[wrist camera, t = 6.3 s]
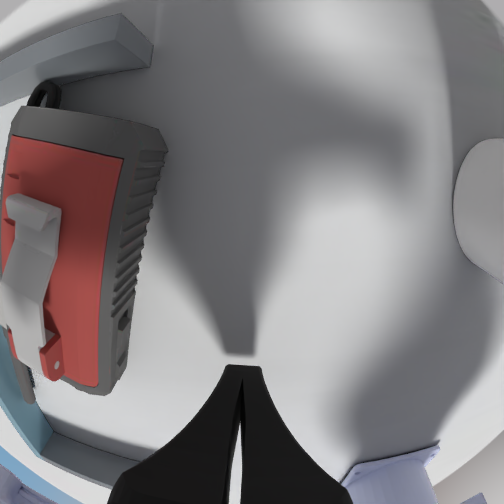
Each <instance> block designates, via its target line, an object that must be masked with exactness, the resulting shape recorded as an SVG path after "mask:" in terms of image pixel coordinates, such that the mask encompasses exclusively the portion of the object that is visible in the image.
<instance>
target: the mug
mask: <svg viewBox="0 0 504 504" xmlns="http://www.w3.org/2000/svg"><path fill="white" fill-rule="evenodd" d="M453 216H454V225H455V231H456V235H457V238H458V241H459V244H460V246H461V249H462V250H463V252H464V254H465V255H466V256H467V258H468V259H469V260H470V261H471V262H473V263H474V264H475V265H477V266H478V267H480V268H481V269H483V270H484V271H485V272H487V273H488V274H490V275H491V276H493V277H494V278H495V279H497V280H498V281H499V282H501V283H502V284H504V138H498V139H487V140H484V141H481V142H479V143H478V144H476V145H475V146H474V147H473V148H472V149H471V150H470V151H469V153H468V154H467V156H466V157H465V159H464V161H463V163H462V165H461V168H460V170H459V173H458V177H457V180H456V185H455V191H454V201H453Z"/></svg>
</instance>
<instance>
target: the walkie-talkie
mask: <svg viewBox="0 0 504 504" xmlns="http://www.w3.org/2000/svg"><path fill="white" fill-rule="evenodd" d="M46 93H48V96H47V103H46V107H45V108H42V107H40V104H41V101H42V99H43V98H44V96H45V94H46ZM60 102H61V89H60V87H59V86H58V85H56V84H54V83H50V82H48V81H44V82H41V83H40V84H39V85H38V86H36V87H35V88H34V90H33V92H32V94H31V96H30V98H29V100H28V102H27V106H21V107H20V109H19V111H18V112H17V114H16V115H15V117H14V119H13V120H12V122H11V128H10V133H9V135H8V143H7V147H6V154H5V160H4V164H3V165H4V167H3V174H2V184H1V189H0V192H1V194H0V325H2V329H3V334H4V336H5V338H6V339H7V343H8V347H9V352H10V356H11V359H12V363H13V367H14V370H15V374H16V377H17V380H18V383H19V386H20V389H21V392H22V395H23V398H24V401H25V402H26V403H27V404H34V403H35V400H36V398H35V394H34V391H33V388H32V384H31V380H30V377H29V373H28V369H27V366H28V367H30V368H32V369H33V370H35V371H36V372H38V373H39V374H41V375H43V376H44V377H46V378H48V379H49V380H51V381H57V380H59V379H61V380H63V381H65V382H67V383H69V384H71V385H72V386H74V387H75V388H76V389H78V390H80V391H84V392H86V393H88V394H93V395H101V396H105V395H107V394H109V393H111V391H112V389H113V388H114V386H115V384H116V382H117V380H120V378H121V376H122V374H123V372H124V371H125V369H126V366H127V357H128V347H129V338H130V329H131V321H132V313H133V306H134V299H135V293H136V292H135V291H134V287H135V285H136V284H137V280H136V275H137V274H138V273H139V268H138V263H139V262H140V261H141V258H142V257H141V256H140V252H141V250H142V249H143V248H144V244H143V243H142V242H143V237H144V236H146V234H147V231H146V230H145V227H146V223H148V222H149V220H150V218H149V217H148V214H149V210H150V209H152V208H153V204H152V203H151V202H152V198H153V195H156V192H157V190H156V189H155V186H156V182H157V181H159V180H160V177H161V176H160V175H159V171H160V168H161V166H164V163H165V162H164V161H163V157H164V154H165V152H168V149H167V147H166V145H165V142H164V140H163V138H162V136H161V134H160V132H159V130H158V129H156V128H152V127H149V126H146V125H142V124H138V123H135V122H131V121H127V120H122V119H118V118H112V117H107V116H101V115H95V114H89V113H82V112H75V111H68V110H60V109H59V106H60Z"/></svg>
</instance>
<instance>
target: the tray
mask: <svg viewBox="0 0 504 504" xmlns="http://www.w3.org/2000/svg"><path fill="white" fill-rule="evenodd" d="M152 50H153V44H152V43H151V42H150V41H149V40H148V39H147V38H146V37H145V36H144V35H143V34H142V33H141V32H140V31H139V30H138V29H137V28H136V27H135V26H134V25H133V24H132V23H131V22H130V21H129V20H128V19H127V18H126V17H125V16H124V15H123V14H121V13H120V14H116V15H112V16H109V17H105V18H101V19H98V20H95V21H91V22H88V23H85V24H82V25H79V26H76V27H73V28H70V29H68V30H65V31H62V32H60V33H57V34H55V35H52V36H50V37H48V38H45V39H43V40H41V41H38V42H36V43H34V44H32V45H30V46H28V47H26V48H24V49H22V50H20V51H18V52H16V53H14V54H12V55H10V56H8V57H7V58H5V59H3V60H1V61H0V106H3V105H5V104H8V103H10V102H12V101H15V100H18V99H20V98H23V97H25V96H28V95H31V94H32V92H33V90H34V88H35V87H36V86H38V85H39V84H40V83H41V82H44V81H48V82H50V83H54V84H56V85H58V86H59V85H62V84H66V83H70V82H73V81H77V80H81V79H85V78H90V77H94V76H99V75H104V74H109V73H114V72H120V71H126V70H132V69H139V68H146V67H150V63H151V57H152ZM0 406H1V408H2V409H3V411H4V412H5V414H6V415H7V417H8V418H9V420H10V421H11V423H12V424H13V426H14V427H15V429H16V430H17V432H18V433H19V434H20V436H21V437H22V438H23V440H24V441H25V442H26V444H27V445H28V446H29V448H30V449H31V450H32V451H33V453H34V454H35V455H36V456H37V457H39V458H40V459H42V460H44V461H46V462H48V463H50V464H52V465H54V466H56V467H58V468H60V469H62V470H64V471H66V472H69V473H71V474H73V475H75V476H78V477H80V478H82V479H85V480H87V481H90V482H92V483H95V484H98V485H100V486H103V487H106V488H109V489H111V490H112V488H113V486H114V485H115V483H116V481H117V480H118V478H119V477H120V475H121V474H122V472H124V471H126V470H128V469H130V468H131V467H133V466H135V465H137V464H138V463H140V462H138V461H134V460H130V459H127V458H123V457H120V456H117V455H113V454H110V453H107V452H104V451H101V450H98V449H95V448H93V447H90V446H87V445H84V444H82V443H79V442H77V441H74V440H72V439H69V438H67V437H65V436H62V435H60V434H58V433H56V432H54V431H53V430H52V428H51V427H50V425H49V423H48V422H47V420H46V418H45V417H44V415H43V413H42V412H41V410H40V408H39V406H38V405H37V403H36V401H35V403H34V404H27V403H26V402H25V401H24V398H23V395H22V392H21V389H20V386H19V383H18V380H17V377H16V374H15V370H14V367H13V363H12V359H11V356H10V352H9V347H8V343H7V339H6V338H5V336H4V334H3V329H2V325H0Z"/></svg>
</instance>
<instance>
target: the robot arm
mask: <svg viewBox="0 0 504 504" xmlns="http://www.w3.org/2000/svg"><path fill="white" fill-rule="evenodd" d="M240 424H241V447H242V484H241V500H240V504H439V503H438V500H437V497H436V495H435V492H434V489H433V487H432V484H431V482H430V479H429V477H428V475H427V472H426V470H425V467H426V465H427V464H428V463H429V462H430V461H431V460H432V459H433V458H434V456H435V455H436V454H437V453H438V452H439V451H440V447H439V446H438V445H437V446H434V447H430V448H427V449H424V450H420V451H417V452H413V453H409V454H405V455H401V456H397V457H392V458H388V459H383V460H378V461H372V462H366V463H361V464H357V465H355V466H354V467H353V469H352V470H351V471H350V473H349V474H348V476H347V477H346V478H345V480H344V481H343V482H342V484H340V483H338V482H337V481H336V480H335V479H333V478H332V477H331V476H330V475H328V474H327V473H326V472H325V471H324V470H323V469H322V468H321V467H320V466H319V465H318V464H317V463H316V462H315V461H314V460H313V459H312V458H311V457H310V456H309V455H308V454H307V453H306V452H305V450H304V449H303V448H302V447H301V446H300V444H299V443H298V442H297V441H296V439H295V438H294V437H293V435H292V434H291V432H290V431H289V429H288V428H287V426H286V425H285V423H284V422H283V420H282V418H281V416H280V415H279V413H278V411H277V409H276V407H275V405H274V403H273V401H272V399H271V397H270V394H269V392H268V390H267V387H266V384H265V381H264V378H263V374H262V369H261V368H260V367H259V366H245V365H231V364H228V365H227V366H225V369H224V372H223V374H222V376H221V378H220V380H219V382H218V384H217V386H216V387H215V389H214V390H213V392H212V394H211V395H210V397H209V398H208V400H207V401H206V402H205V404H204V405H203V406H202V408H201V409H200V410H199V412H198V413H197V414H196V415H195V417H194V418H193V419H192V420H191V421H190V422H189V423H188V424H187V425H186V426H185V428H184V429H183V430H182V431H181V432H179V433H178V434H177V435H176V436H175V437H174V438H173V439H172V440H171V441H170V442H168V443H167V444H166V445H165V446H163V447H162V448H161V449H159V450H158V451H157V452H155V453H154V454H152V455H151V456H150V457H148V458H147V459H145V460H144V461H142V462H140V463H138V464H137V465H135V466H133V467H131V468H130V469H128V470H126V471H124V472H122V474H121V475H120V477H119V478H118V480H117V481H116V483H115V485H114V486H113V488H112V491H111V494H110V497H109V500H108V503H107V504H229V492H230V479H231V469H232V462H233V457H234V451H235V446H236V441H237V436H238V430H239V425H240ZM0 504H58V503H56V502H54V501H52V500H50V499H48V498H46V497H45V496H43V495H41V494H39V493H38V492H36V491H34V490H33V489H31V488H29V487H28V486H26V485H25V484H23V483H22V481H20V479H18V477H16V476H15V475H14V474H13V473H12V472H11V471H9V470H8V469H6V468H5V467H4V466H2V465H1V464H0ZM460 504H487V502H486V500H485V498H484V496H483V494H482V493H479V494H477V495H475V496H473V497H471V498H469V499H468V500H466V501H464V502H462V503H460Z"/></svg>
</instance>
